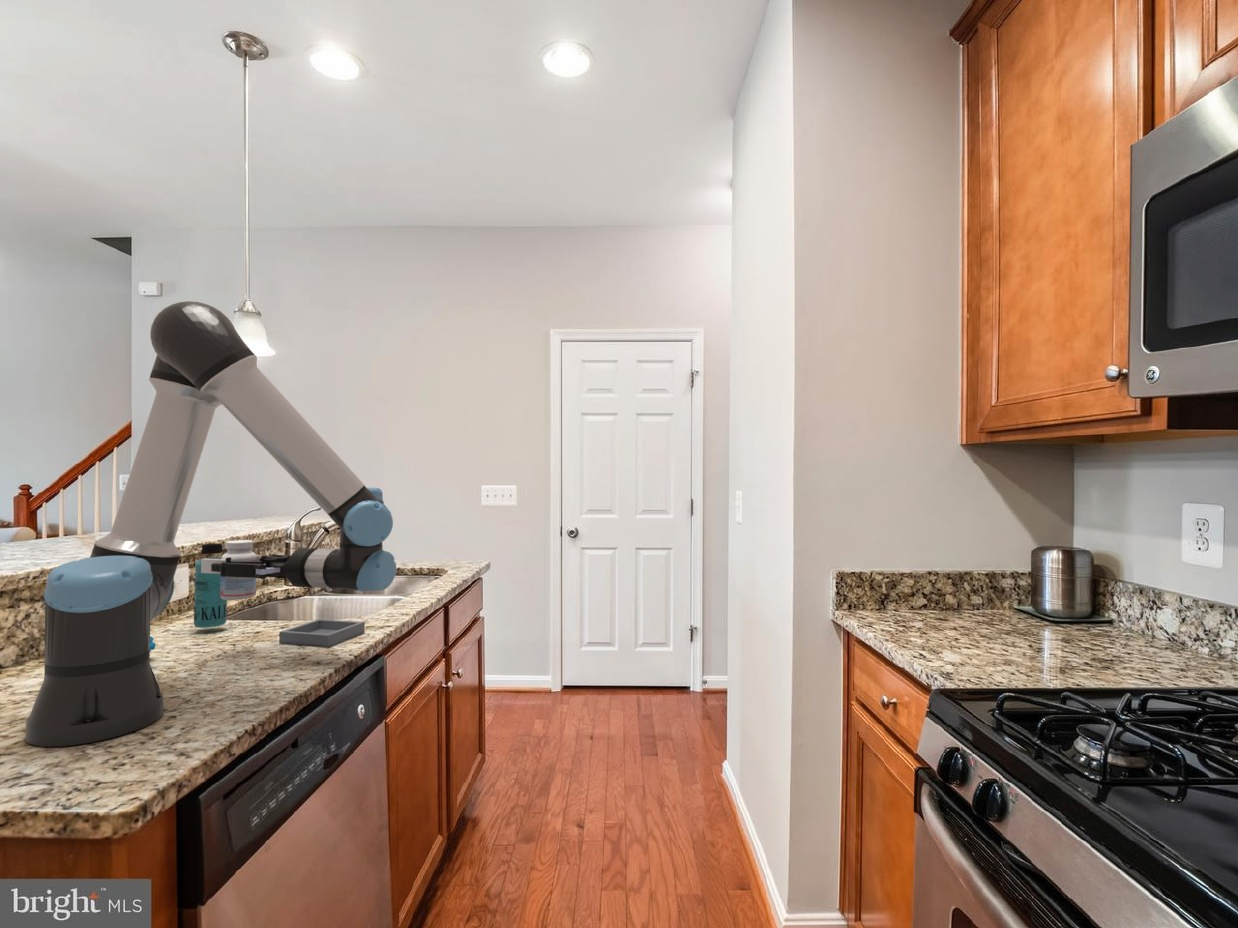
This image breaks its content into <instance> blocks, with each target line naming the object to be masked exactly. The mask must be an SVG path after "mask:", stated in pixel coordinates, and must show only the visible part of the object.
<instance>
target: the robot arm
mask: <svg viewBox="0 0 1238 928" xmlns="http://www.w3.org/2000/svg"><path fill="white" fill-rule="evenodd" d="M149 338H150V341H151V345H152V348H153V350H154V352H155V354H156V357H155V360H154V363H153V365H152V369H151V371H150V376H149V378H148V381H149V382H150V384H151V385H152V386H153V388H154V390H155V392H156V393H155V396H154V400H153V403H152V406H151V408H150V412H149V414H148V418H147V421H146V423H145V426H144V430H143V433H142V436H141V439H140V441H139V445H138V449H137V452H136V454H135V456H134V457H135V458H134V461H133V463H132V466H131V469H130V473H129V476H128V478H127V482H126V485H125V487H124V491H123V493H122V497H121V500H120V503H119V507H118V509H117V513H116V515H115V519H114V521H113V525H112V528H111V531H110V532H109V533H108V534H107V535H105V536H103V537H101V538H99V539H97V540H95V541H94V545H93V548H92V550H91V553H90V555H89V556H90V557H86V558H81V559H80V560H73V561H69V562H65V563H63V564H62V563H61V564H60V565H58V566H57V567H54V568H53V569H52V570H51V571H50V572H49V573H48V575H47V578H46V585H45V588H44V592H43V595H44V596H43V599H44V601H45V612H44V614H45V615H44V616H45V617H44V676H43V677H44V678H43V681H42V684H41V686H40V689H39V690H38V693H37V696H36V698H35V700H34V703H33V707H32V709H31V711H30V715H29V716H28V717H27V719H26V723H25V741H26V743H28V744H30V745H32V746H38V747H67V746H78V745H85V744H88V743H95V742H98V741H103V740H104V741H105V740H109V739H112V738H117V737H120V736H123V735H126V734H129V733H132V732H134V731H137V730H141V729H143V728H145V727H147V726H149V725H151V724H153V723H155V722H156V721H157V720H159V719H160V718H161V717H162V716H163V715H164V702H165V701H164V695H163V693H162V691H161V690H160V686H159V684H158V680H157V678H156V676H155V673H154V670H153V667H152V666H151V651H150V637H151V621H152V620H154V619H155V618H157V616H159V615H160V614H161V613H162V612H163V611H164V610H165V609H166V607H167V606H168V605H169V603H171V600H172V598H173V595H174V590H175V583H176V582H175V579H174V578H175V574H176V571H177V568H178V564H179V561H180V558H181V555H182V554H181V551H180V550H179V548H178V547H177V546H176V544H175V539H176V537H177V536H176V535H177V532H178V531H179V526H180V522H181V520H182V517H183V513H184V510H185V507H186V504H187V501H188V497H189V496H190V495H189V494H190V491H191V488H192V485H193V482H194V478H195V474H196V473H197V469H198V465H199V463H200V459H201V456H202V453H203V450H204V448H205V447H204V446H205V444H206V441H207V438H208V434H209V430H210V428H211V424H212V421H213V418H214V415H215V411H216V409H217V408H218V407H220V406H223V407H224V408H226V410H227V411H228V412H229V413H230V414H231V415H232V416H233V417H234V418H235V419H236V421H238V422H239V423H240V425H242V427H244V428H245V430H246V431H247V433H249V434H250V435H251V436H252V437H253V438H254V439H255V440H256V441H257V443H259V444H260V445H261V446H262V447H263V448H264V449H265V451H267V452H268V454H269V455H270V456H271V457H272V458H273V459H274V460H275V461H276V462H277V463H278V464H279V465H280V466H281V467H282V468H283V470H285V471H286V472H287V474H288V475H289V476H290V477H291V478H292V479H293V480H294V481H295V482H296V483H297V484H298V485H299V486H300V487H301V488H302V490H304V492H305V493H307V495H309V497H310V498H311V499H312V500H314V502H315V503H316V504H317V505H318V506H319V507H320V508H321V509H322V511H324V512H325V513H326V514H327V515H328V516H329V518H330V519H331V520H332V521H333V522H334V523H335V524H336V525H337V526H338V527H339V548H322V547H321V548H314V547H313V548H312V547H301V548H298V549H296V550H295V551H293V552H292V553H291V554H290V555H289V554H288V555H287V554H276V553H272V554H270V555H267V554H263V555H261V557H260V555H259V554H258V555H257V554H256V556H257V561H232V560H231V557H229V558H226V560H224V559H203V558H201V559H200V560H201V573H212V574H220V576H221V577H248V578H256V579H260V580H264V579H266V578H276V579H288V581H289V583H290V585H292V586H294V587H297V588H306V589H307V588H308V589H312V588H315V589H316V588H317V589H326V592H332V591H333V590H349V591H359V592H373V591H375V592H376V591H378V592H379V591H380V592H381V591H384V590H386V589H387V588H389V587H390V586H391V585H392V583H393V581H394V580H395V577H396V574H397V563H396V562H395V557H394V555H393V553H391V552H389V551H386V550H384V548H383V546H384V545H383V542H384V541H386V539H387V538H388V537H389V536H390V534H391V532H392V531H393V528H394V527H393V525H394V520H393V516H392V512H391V510H389V508H388V507H387V506H386V505H385V503H384V500H383V497H384V496H383V490H382V489H381V488H379V487H366V485H365V484H364V483H363V482H362V481H361V479H360V478H359V477H358V476H357V475H356V474H355V473H354V472H353V471H352V470H351V468H350V467H349V466H348V465H347V463H345V461H343V459H341V458H340V456H339V455H338V453H336V452H335V450H333V449H332V447H331V446H329V444H328V443H327V442H326V441H325V440H324V439H323V438H322V437H321V436H320V435H319V433H318V432H317V431H316V430H315V429H314V428H313V427H312V426H311V424H309V422H308V421H307V420H306V419H305V418H304V417H303V416H302V415H301V413H299V411H298V410H297V409H296V408H295V406H293V405H292V404H291V402H290V401H289V400H288V399H287V398H286V397H285V396H284V395H283V393H281V392H280V391H279V389H278V388H277V387H276V385H274V383H272V382H271V381H270V380H269V378H268V377H267V376H266V375H265V374H264V373H263V372H262V371H261V369H259V368H258V366H257V362H258V357H257V355H256V354H255V353H254V352H253V351H252V350H251V349H250V347H249V346H248V345H247V344H246V342H244V340H243V338H241V336H240V335H239V333H238V331H237V330H236V328H235V326H234V324H233V323H232V321H231V320H230V318H229V317H227V315H226V314H224V313H223V312H222V311H221V310H220V309H218V308H215V307H214V306H211V305H209V304H207V303H204V302H199V301H191V300H190V301H179V302H175V303H172V304H170V305H168V306H166V307H165V308H163V309H162V310H161V311H160V312H159V313H157V314H156V316H155V318H154V319H153V322H152V324H151V326H150V337H149Z"/></svg>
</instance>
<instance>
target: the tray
mask: <svg viewBox="0 0 1238 928" xmlns="http://www.w3.org/2000/svg"><path fill="white" fill-rule="evenodd" d="M365 623H366V622H365V621H351V620H339V619H337V620H336V619H325V618H318V619H314V620H312V621H308V622H306V623H302V624H299V625H297V626H293V627H290V628H287V629H284V630H281V631H279V634H278V636H279V639H278V644H279V645H280V644H281V645H289V646H290V645H292V646H293V645H294V646H302V647H316V648H318V647H319V648H327V649H328V648H331V647H333V646H336V645H339V644H341V643H343V642H346V641H348V640H350V639H353V638H356V637H358V636H361V635H364V634H365V628H366V625H365Z"/></svg>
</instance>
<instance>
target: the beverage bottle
mask: <svg viewBox="0 0 1238 928" xmlns="http://www.w3.org/2000/svg"><path fill="white" fill-rule="evenodd" d="M222 553H223V544H222V543H216V542H215V543H214V542H213V543H211V542H210V543H204V544H201V550H200V554H201V555H202V554H203V555H206V554H208V555H209V554H222ZM221 558H222V557H206V558H205V557H204V558H202V559H221ZM194 566H195V571H194V573H195V577H194V578H195V579H194V587H193V588H194V589H193V590H194V594H193V595H194V600H193V602H194V605H193V615H192V616H193V621H192V622H193V624H194V627H195V628H198V629H202V628H203V629H207V628H214V627H220V626H223V625H226V624H227V623H226V622H227V620H228V607H227V606H228V601H229V600H223V599H222V598H221V594H220V593H221V576H220V574H212V573H201V559H199V560H198V561H197V562H195V565H194Z"/></svg>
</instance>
